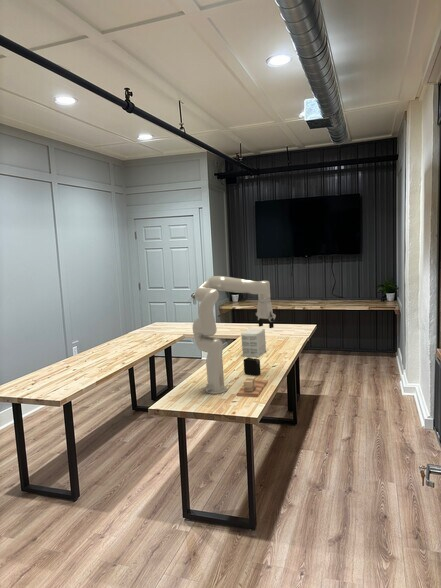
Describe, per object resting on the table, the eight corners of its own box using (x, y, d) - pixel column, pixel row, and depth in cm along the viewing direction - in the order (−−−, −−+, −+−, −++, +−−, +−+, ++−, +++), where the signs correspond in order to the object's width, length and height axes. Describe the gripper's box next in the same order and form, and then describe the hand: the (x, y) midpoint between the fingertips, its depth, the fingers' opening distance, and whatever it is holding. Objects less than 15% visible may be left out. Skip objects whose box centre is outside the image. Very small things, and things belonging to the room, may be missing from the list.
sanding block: (252, 392, 234) (251, 382, 233) (244, 392, 236) (243, 381, 235) (255, 388, 241) (254, 377, 240) (247, 387, 242) (247, 377, 241)
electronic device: (248, 372, 276) (247, 357, 275) (260, 374, 270) (259, 359, 268) (244, 374, 273) (243, 359, 272) (257, 376, 266) (256, 360, 265)
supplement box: (250, 351, 330) (248, 328, 328) (266, 351, 324) (265, 328, 322) (242, 356, 314) (240, 333, 312) (258, 357, 309) (257, 333, 307)
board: (257, 397, 231) (257, 394, 230) (236, 395, 235) (236, 393, 234) (267, 382, 253) (267, 380, 253) (248, 381, 257) (248, 379, 257)
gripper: (251, 300, 271) (252, 326, 273) (269, 302, 257) (271, 329, 259) (259, 298, 276) (261, 324, 278) (278, 300, 262) (280, 327, 264)
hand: (266, 327), depth 268 cm, fingers open, 9 cm apart
